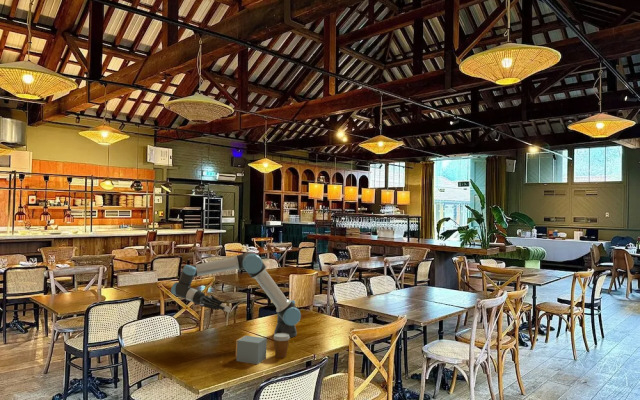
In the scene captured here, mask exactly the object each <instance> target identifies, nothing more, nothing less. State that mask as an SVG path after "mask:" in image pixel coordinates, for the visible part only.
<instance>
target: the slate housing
mask: <svg viewBox="0 0 640 400" xmlns="http://www.w3.org/2000/svg"><path fill="white" fill-rule="evenodd" d="M267 342H268V341H267V337H262V336H261V337H260V336H258V337H257V336H253V335H243V336H242V337H240V338H237V339H236V342H235V346H236V347H235V359H236V362H240V363H246V364H254V365H259V364H260V363H262V362H263V361H265V360H266V359H267V345H268V344H267Z"/></svg>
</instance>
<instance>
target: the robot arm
mask: <svg viewBox="0 0 640 400" xmlns="http://www.w3.org/2000/svg"><path fill="white" fill-rule="evenodd" d="M233 270H238V271H240V270H244V271H246V273H247V275H249V277H250V278H251V279H254V280H255V281H256V282H257V283H258V285H259V286H260V287H261V289H262V290H263V292H264V293H265V294H266V296H267V297H268V298H269V299H270V301H271V302H272V303H273V305H274V306H275V308H276V309H275V311H276V313H277V316H276V317H277V323H276V326H275V327H274V328H275V329H274V331H273V335H274V334H277V333H286V334H289V337H290V338H294V337H297V334H298V332H297V327H296V325H297V324H298V323H299V322H300V320H301V318H302V314H301V313H302V312H301V311H300V309H299V308H298V307H296V301H295V299H294V300H292V299H288V298H287V297H286V296H285V294H284V292H282V290H281V288H280V287H279V286H278V285H277V283H276V282H275V281H274V279H273V278H272V277H271V275H270V274H269V272H268V271H267V266H266V264H265V263H264V262H263V260H262V258H261V257H260V255H258V254H256V253H255V252H253V251H251V252H250V251H249V252H245V253H241V254H238V255H235V256H234V257H230V258H225V259H224V258H223V259H219V260H214V261H208V262H204V263H198V264H193V265H190V264H185V265H184V267H183V268H182V270H181V273H180V276H179V280H178V282H177V281H176V282H174V283H173V284H172V285H171V289H170V293H171V294H172V295H175V296H176V297H179V298H182V299H184V300H186V301H188V302H191V303H194V304H196V305H199V306H200V307H204V308H208V309H210V310H211V309H212V310H215V311H216V310H217V311H219V310H222V311H224V312H226V313H230V312H231V310H232V307H230V306H228V305H227V304H223V301H222V300H220V299H219V298H217V297H215V296H214V295H212V294H211V295H210V296H208V295H206V294H205V292H203V291H201V290H198V289H197V288H194V287H191V286H192V283H193V280H194V278H196V277H201V276H202V277H203V276H206V275H212V274H217V273H222V272H228V271H233Z"/></svg>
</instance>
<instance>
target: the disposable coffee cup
mask: <svg viewBox="0 0 640 400" xmlns="http://www.w3.org/2000/svg"><path fill="white" fill-rule="evenodd" d="M272 338H273V343H274V344H273V345H274V354H275V357H276V358H279V359H283V358H286V357H287V353H288V349H289V348H288V347H289V343H290V342H289V341H290V339H291V337H289V334H286V333H277V334H274V333H273V337H272Z"/></svg>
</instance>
